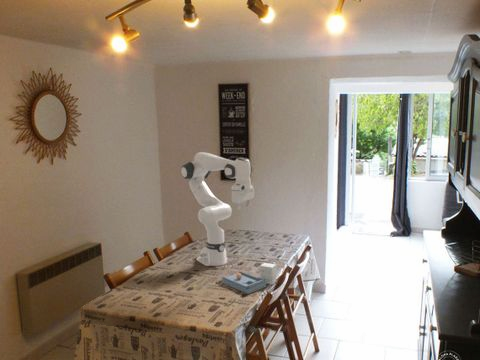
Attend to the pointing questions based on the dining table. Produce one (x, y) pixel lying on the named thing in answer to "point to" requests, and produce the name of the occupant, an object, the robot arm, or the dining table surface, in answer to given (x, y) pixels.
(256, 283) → the blue tray
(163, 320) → the dining table surface
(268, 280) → the small box
